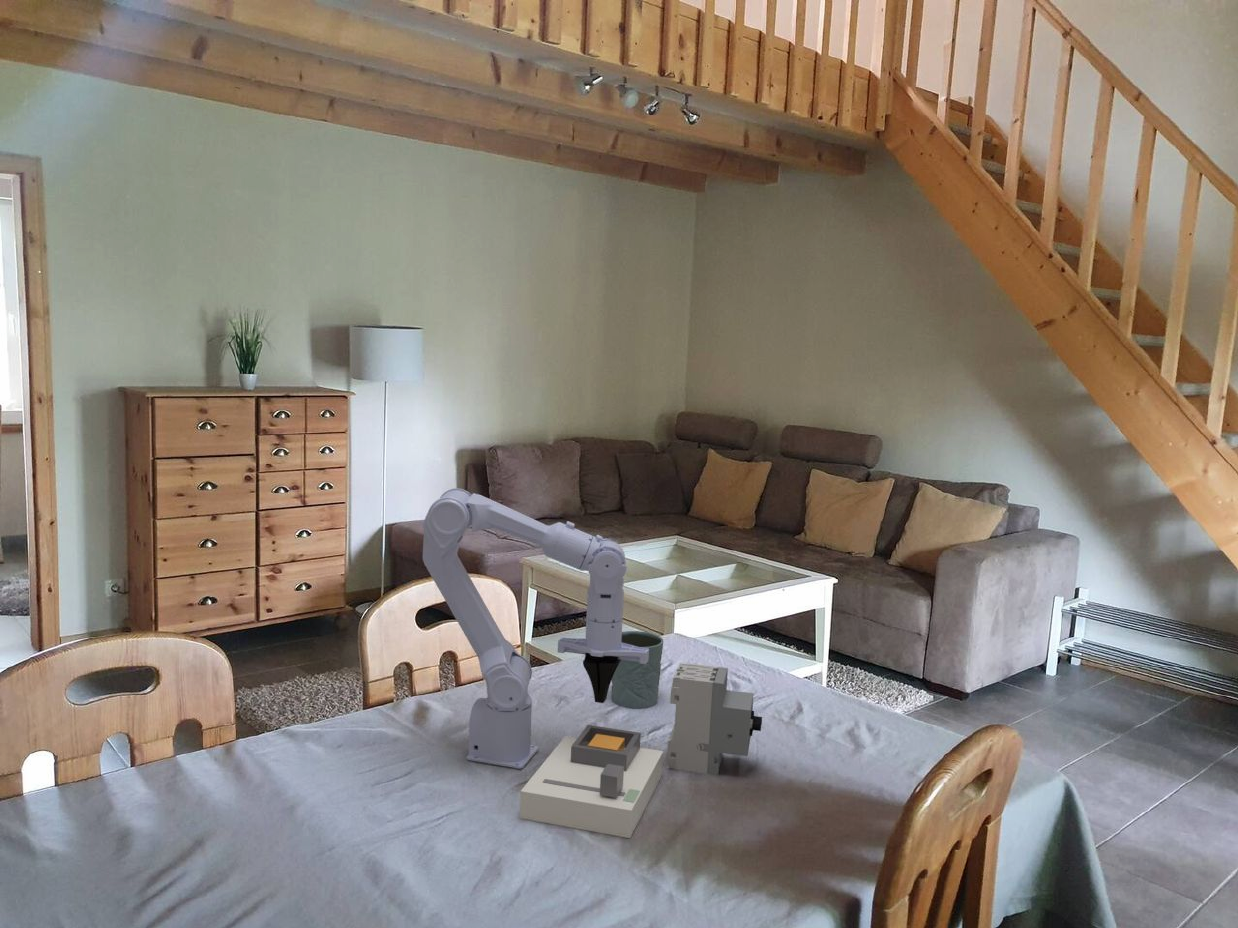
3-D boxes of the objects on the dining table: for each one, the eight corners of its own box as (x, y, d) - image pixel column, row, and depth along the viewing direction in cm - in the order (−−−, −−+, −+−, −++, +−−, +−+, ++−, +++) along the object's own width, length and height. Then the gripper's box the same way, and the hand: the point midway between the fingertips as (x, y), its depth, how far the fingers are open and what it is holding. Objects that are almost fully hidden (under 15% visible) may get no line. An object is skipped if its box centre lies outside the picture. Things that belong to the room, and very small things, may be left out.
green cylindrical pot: (660, 711, 175) (664, 648, 173) (605, 708, 175) (608, 645, 173) (659, 691, 185) (662, 631, 183) (607, 688, 185) (609, 628, 183)
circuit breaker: (756, 780, 149) (763, 688, 147) (666, 768, 152) (671, 677, 150) (759, 760, 156) (765, 672, 154) (673, 749, 159) (678, 662, 157)
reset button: (587, 757, 145) (587, 745, 144) (595, 745, 149) (596, 733, 149) (616, 762, 143) (617, 749, 143) (624, 750, 148) (624, 738, 148)
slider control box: (519, 817, 134) (521, 773, 133) (564, 759, 153) (566, 720, 152) (630, 838, 130) (632, 792, 129) (661, 775, 149) (664, 735, 148)
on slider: (599, 794, 133) (600, 774, 132) (606, 783, 136) (607, 763, 136) (616, 797, 132) (617, 777, 132) (623, 786, 136) (624, 766, 135)
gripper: (552, 619, 149) (549, 702, 150) (643, 630, 145) (638, 716, 147) (566, 607, 155) (563, 687, 157) (653, 618, 152) (649, 699, 154)
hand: (600, 700), depth 152 cm, fingers closed
